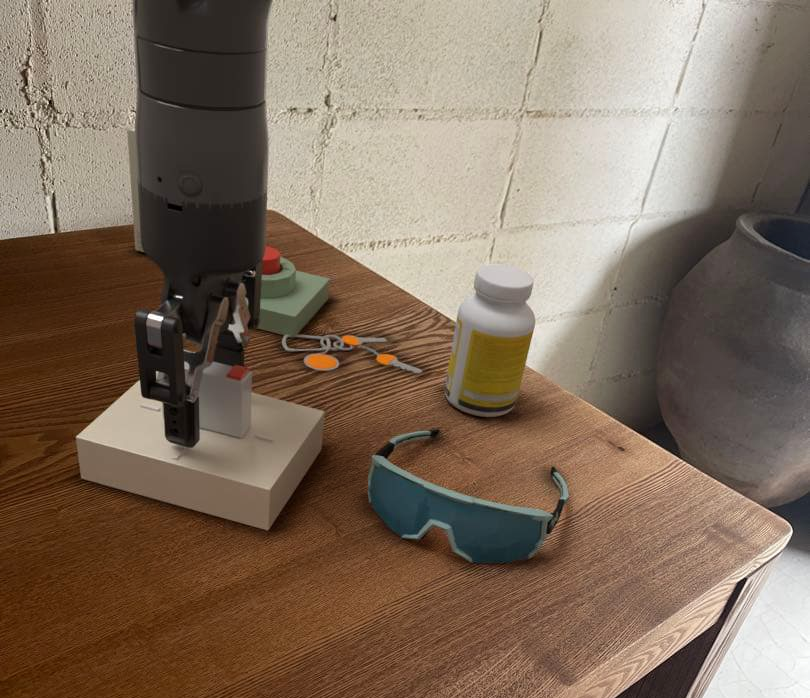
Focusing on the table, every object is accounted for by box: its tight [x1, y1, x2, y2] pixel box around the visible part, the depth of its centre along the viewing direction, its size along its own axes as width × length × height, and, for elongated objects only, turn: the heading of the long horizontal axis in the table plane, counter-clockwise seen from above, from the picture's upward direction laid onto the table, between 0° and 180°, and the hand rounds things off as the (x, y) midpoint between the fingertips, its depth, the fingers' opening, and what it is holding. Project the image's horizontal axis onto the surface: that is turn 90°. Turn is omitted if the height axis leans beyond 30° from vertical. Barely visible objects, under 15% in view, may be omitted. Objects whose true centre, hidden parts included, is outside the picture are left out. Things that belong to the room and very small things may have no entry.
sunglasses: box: [367, 428, 570, 564], centre depth 63 cm, size 14×15×5 cm
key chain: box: [281, 333, 423, 375], centre depth 80 cm, size 13×7×1 cm, turn 97°
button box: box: [245, 255, 331, 338], centre depth 84 cm, size 11×10×4 cm
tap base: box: [75, 371, 325, 531], centre depth 63 cm, size 14×11×4 cm
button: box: [262, 245, 281, 275], centre depth 82 cm, size 4×4×2 cm
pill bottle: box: [444, 263, 536, 418], centre depth 73 cm, size 6×6×12 cm
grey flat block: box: [162, 362, 253, 438], centre depth 60 cm, size 6×2×5 cm, turn 76°
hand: (206, 416), depth 61 cm, fingers open, 7 cm apart
